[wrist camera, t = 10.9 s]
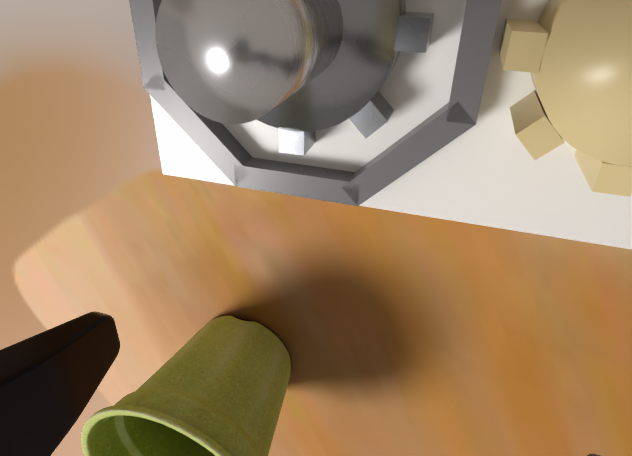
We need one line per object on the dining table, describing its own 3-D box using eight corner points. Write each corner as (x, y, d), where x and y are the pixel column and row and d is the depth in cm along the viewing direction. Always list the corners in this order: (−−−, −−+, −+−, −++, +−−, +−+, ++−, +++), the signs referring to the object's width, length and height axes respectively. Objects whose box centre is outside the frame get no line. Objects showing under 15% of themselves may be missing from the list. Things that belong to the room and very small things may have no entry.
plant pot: (152, 330, 30) (50, 447, 23) (235, 262, 25) (137, 385, 18) (253, 421, 32) (188, 556, 24) (350, 375, 26) (303, 529, 19)
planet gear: (456, -141, 13) (440, -211, 8) (413, 155, 18) (386, 240, 12) (178, -135, 15) (14, -186, 10) (205, 128, 20) (104, 190, 14)
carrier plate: (957, -282, 10) (1201, -405, 7) (684, 242, 17) (735, 313, 14) (121, -218, 16) (19, -269, 12) (176, 164, 23) (122, 201, 19)
